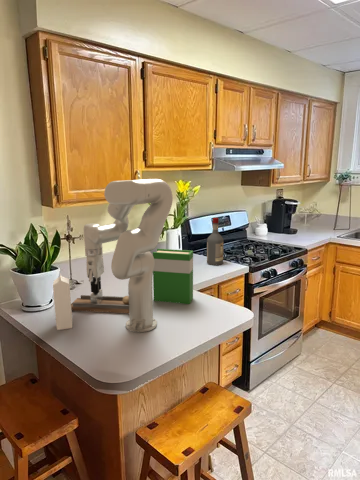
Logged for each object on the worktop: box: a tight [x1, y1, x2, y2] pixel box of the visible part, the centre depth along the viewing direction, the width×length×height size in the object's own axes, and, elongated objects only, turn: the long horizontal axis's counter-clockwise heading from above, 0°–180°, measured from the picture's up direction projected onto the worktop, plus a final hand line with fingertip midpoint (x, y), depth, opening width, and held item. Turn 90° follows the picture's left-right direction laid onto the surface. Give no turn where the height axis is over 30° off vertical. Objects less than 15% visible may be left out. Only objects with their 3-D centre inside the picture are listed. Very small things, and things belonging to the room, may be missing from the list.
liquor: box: [206, 217, 225, 267], centre depth 229 cm, size 9×9×30 cm
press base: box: [71, 294, 129, 314], centre depth 162 cm, size 10×32×8 cm, turn 83°
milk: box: [52, 273, 73, 331], centre depth 143 cm, size 6×6×22 cm
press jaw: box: [90, 278, 104, 304], centre depth 162 cm, size 7×3×12 cm, turn 173°
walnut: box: [122, 295, 129, 305], centre depth 161 cm, size 4×4×4 cm
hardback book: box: [152, 248, 194, 305], centre depth 170 cm, size 18×7×24 cm, turn 76°
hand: (96, 290), depth 162 cm, fingers closed on press jaw, 2 cm apart
